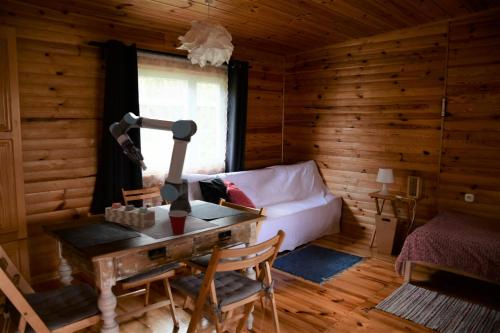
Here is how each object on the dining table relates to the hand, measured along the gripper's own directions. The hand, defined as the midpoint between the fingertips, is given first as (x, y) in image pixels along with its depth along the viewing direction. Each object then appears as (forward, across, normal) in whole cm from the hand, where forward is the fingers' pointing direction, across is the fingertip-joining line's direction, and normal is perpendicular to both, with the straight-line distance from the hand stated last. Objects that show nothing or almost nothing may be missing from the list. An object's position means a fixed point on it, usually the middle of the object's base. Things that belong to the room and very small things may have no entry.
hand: (145, 169), depth 238 cm
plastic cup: (+52, +16, +6) cm, 55 cm away
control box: (+21, +12, -24) cm, 34 cm away
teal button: (+26, +12, -12) cm, 31 cm away
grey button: (+17, +12, -20) cm, 30 cm away
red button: (+9, +12, -29) cm, 33 cm away
